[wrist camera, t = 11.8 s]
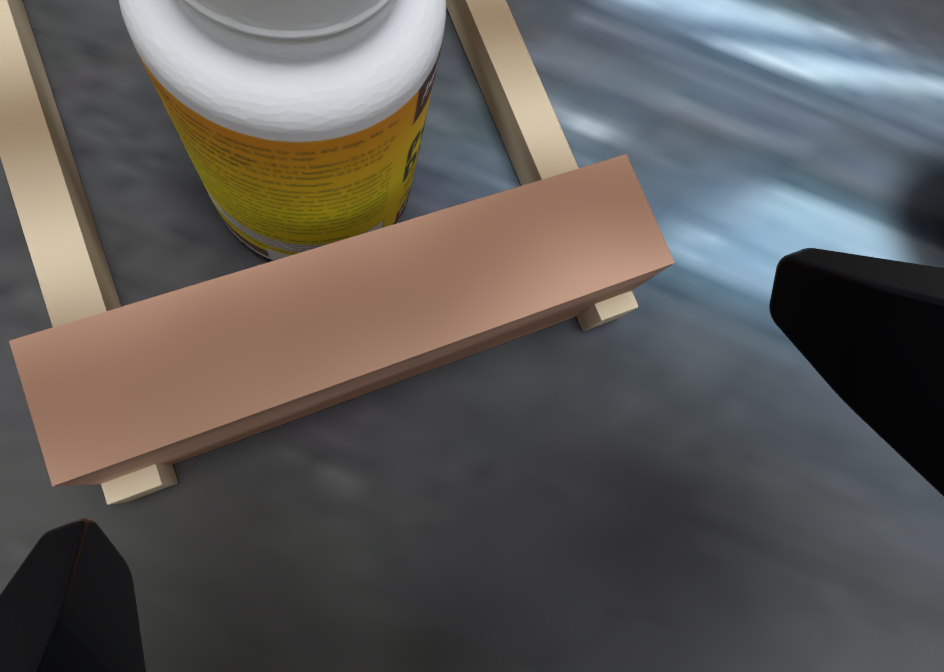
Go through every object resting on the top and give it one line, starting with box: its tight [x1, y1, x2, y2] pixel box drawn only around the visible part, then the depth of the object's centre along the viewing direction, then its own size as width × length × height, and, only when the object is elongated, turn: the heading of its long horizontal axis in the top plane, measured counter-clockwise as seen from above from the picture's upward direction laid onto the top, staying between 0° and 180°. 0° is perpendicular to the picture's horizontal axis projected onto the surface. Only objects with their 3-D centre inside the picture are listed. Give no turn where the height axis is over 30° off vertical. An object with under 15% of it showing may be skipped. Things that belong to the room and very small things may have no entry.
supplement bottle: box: [119, 0, 446, 261], centre depth 14 cm, size 6×6×10 cm
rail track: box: [0, 0, 675, 505], centre depth 17 cm, size 18×14×4 cm
